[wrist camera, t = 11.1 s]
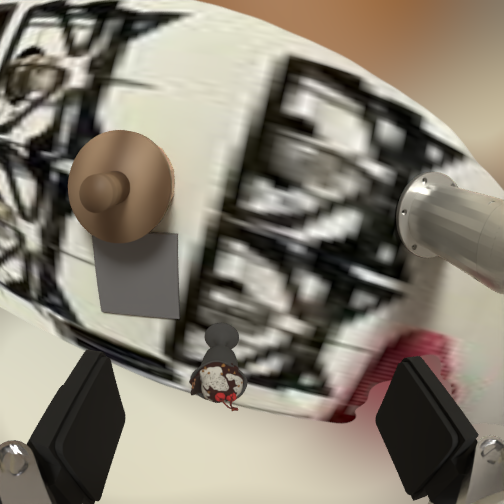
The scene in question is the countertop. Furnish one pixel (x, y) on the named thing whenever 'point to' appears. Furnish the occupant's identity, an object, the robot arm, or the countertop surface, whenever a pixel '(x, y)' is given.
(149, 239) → the mat
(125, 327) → the countertop surface
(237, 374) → the sundae
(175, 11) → the countertop surface
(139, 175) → the lid
